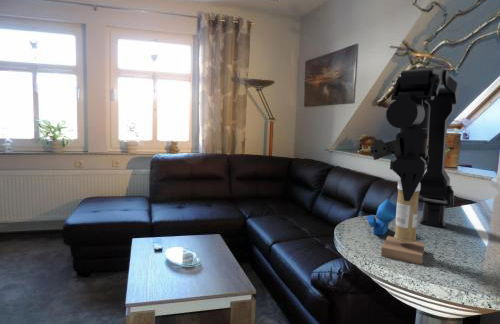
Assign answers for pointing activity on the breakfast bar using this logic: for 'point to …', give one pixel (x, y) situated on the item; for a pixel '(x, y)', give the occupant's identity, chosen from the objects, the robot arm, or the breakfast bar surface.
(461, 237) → the breakfast bar surface
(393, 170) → the robot arm
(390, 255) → the wooden block
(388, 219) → the blue figurine
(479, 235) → the breakfast bar surface
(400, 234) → the sprinkles bottle
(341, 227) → the breakfast bar surface
